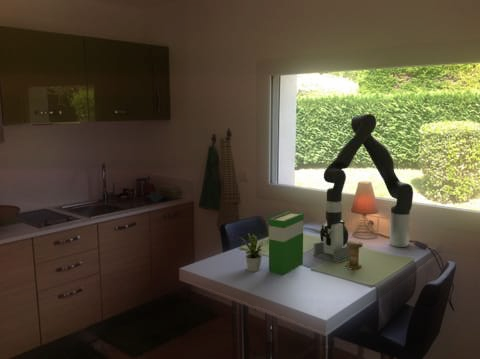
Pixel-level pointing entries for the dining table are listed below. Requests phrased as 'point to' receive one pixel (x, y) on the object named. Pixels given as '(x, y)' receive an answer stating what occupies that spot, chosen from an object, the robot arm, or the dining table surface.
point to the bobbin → (354, 254)
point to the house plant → (253, 254)
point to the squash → (345, 235)
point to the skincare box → (334, 238)
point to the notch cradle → (337, 255)
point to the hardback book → (285, 243)
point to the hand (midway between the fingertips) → (333, 243)
